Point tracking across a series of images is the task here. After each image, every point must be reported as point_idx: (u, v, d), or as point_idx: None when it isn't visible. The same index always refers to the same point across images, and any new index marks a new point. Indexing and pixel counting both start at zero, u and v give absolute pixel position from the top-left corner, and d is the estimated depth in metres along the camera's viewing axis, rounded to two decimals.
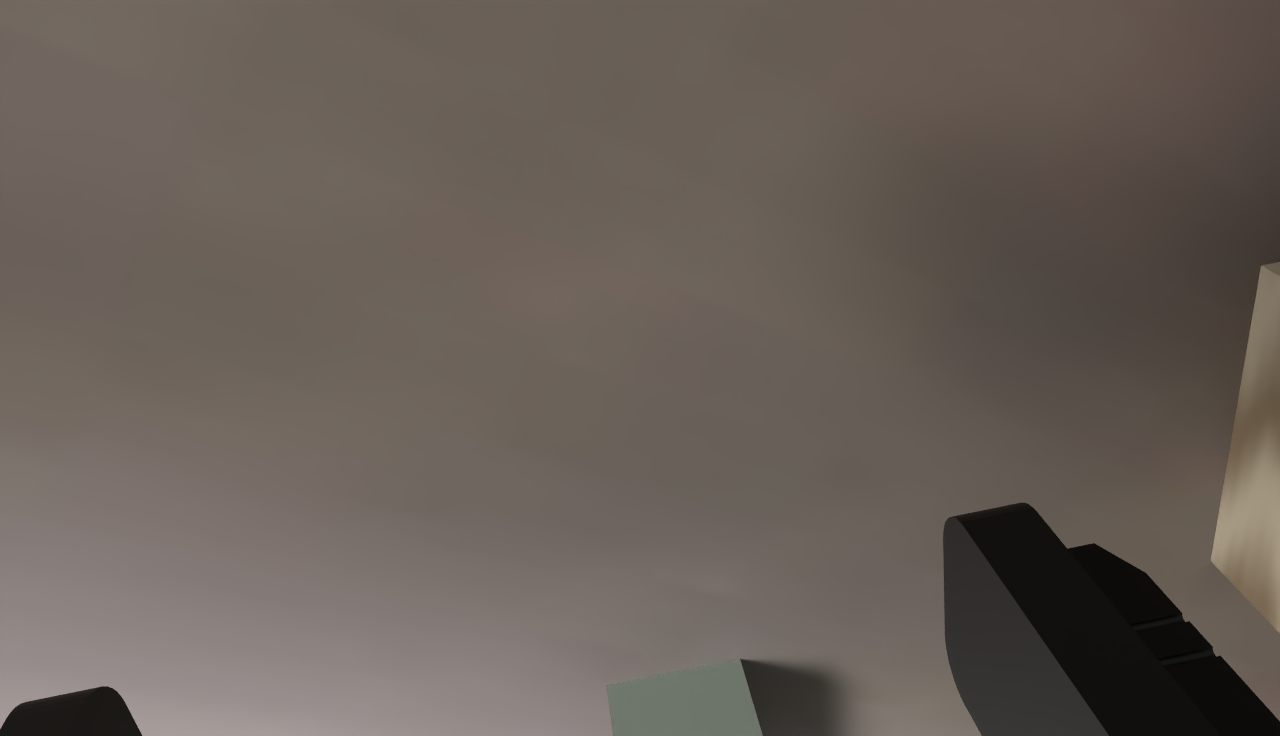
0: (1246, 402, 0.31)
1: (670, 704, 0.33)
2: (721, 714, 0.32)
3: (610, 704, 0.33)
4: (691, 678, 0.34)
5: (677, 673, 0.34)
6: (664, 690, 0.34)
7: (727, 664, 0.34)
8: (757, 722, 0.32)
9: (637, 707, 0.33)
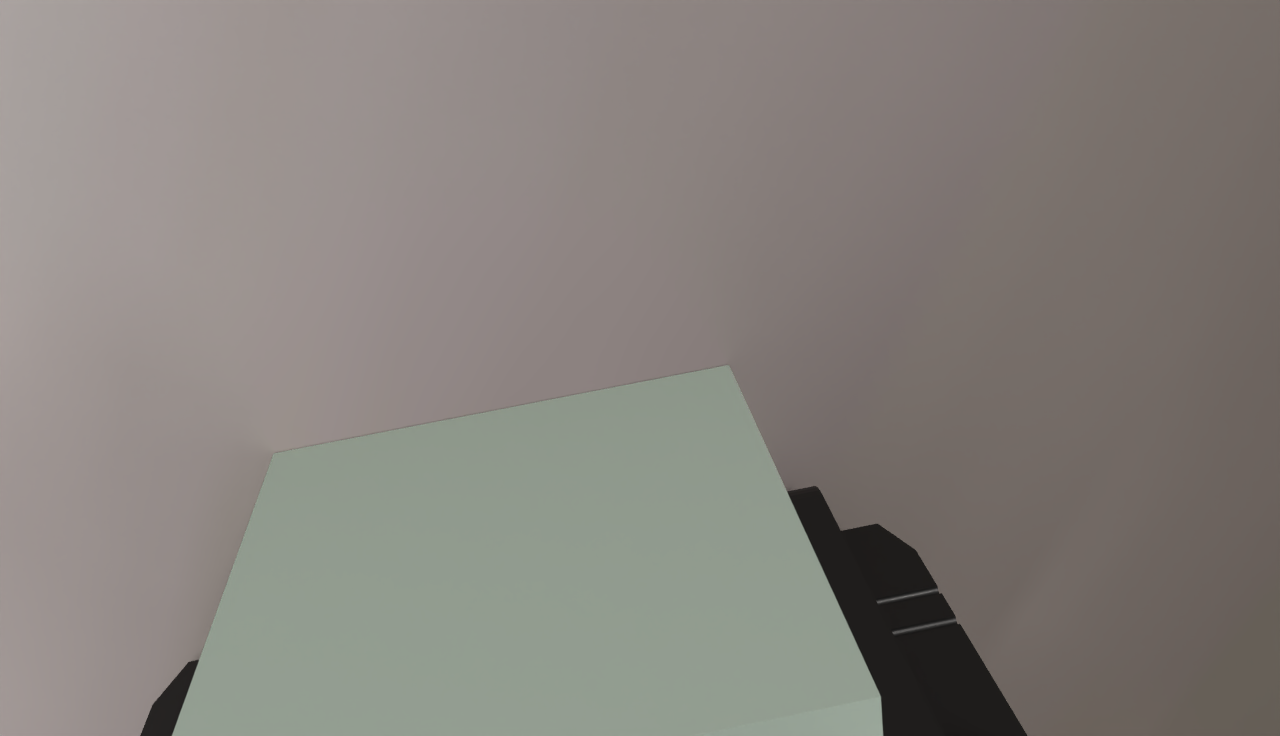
0: None
1: None
2: None
3: (750, 415, 0.09)
4: None
5: None
6: None
7: None
8: None
9: None
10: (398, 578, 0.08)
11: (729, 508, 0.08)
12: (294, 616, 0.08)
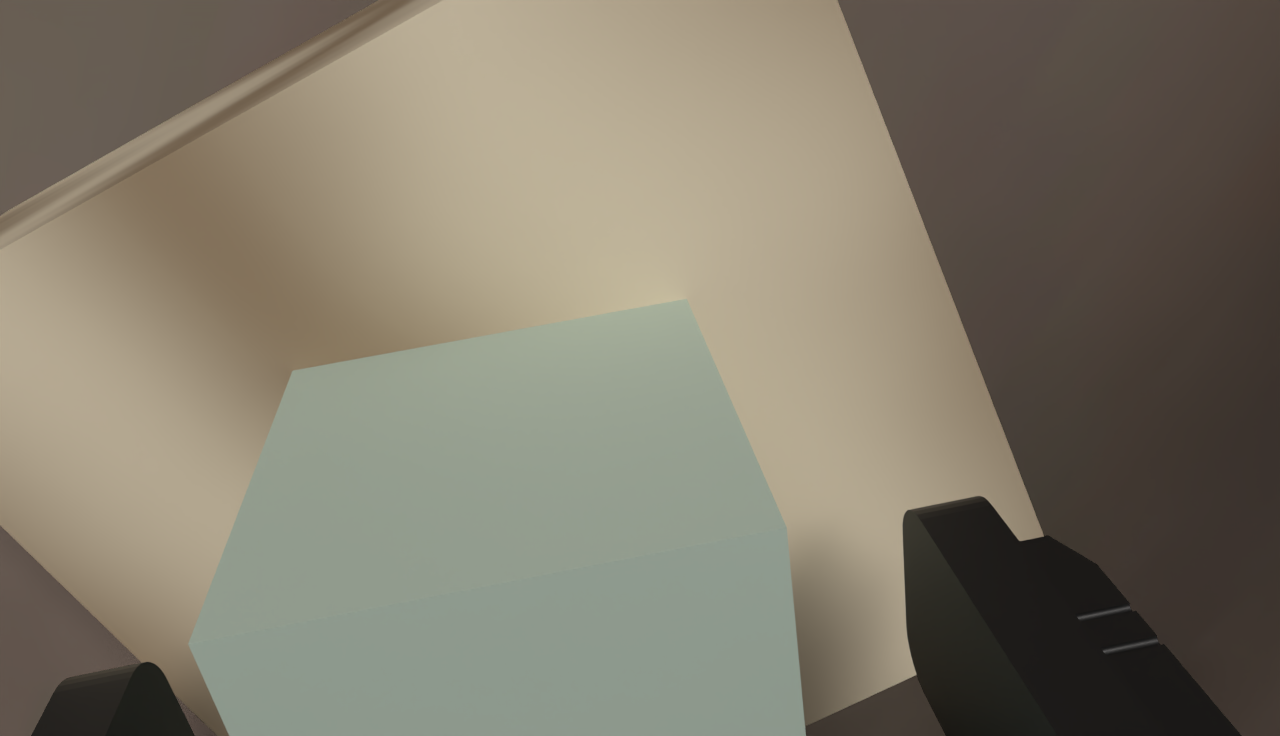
0: None
1: None
2: None
3: (702, 336, 0.11)
4: None
5: None
6: None
7: None
8: None
9: None
10: (400, 458, 0.10)
11: (678, 403, 0.10)
12: (314, 485, 0.09)
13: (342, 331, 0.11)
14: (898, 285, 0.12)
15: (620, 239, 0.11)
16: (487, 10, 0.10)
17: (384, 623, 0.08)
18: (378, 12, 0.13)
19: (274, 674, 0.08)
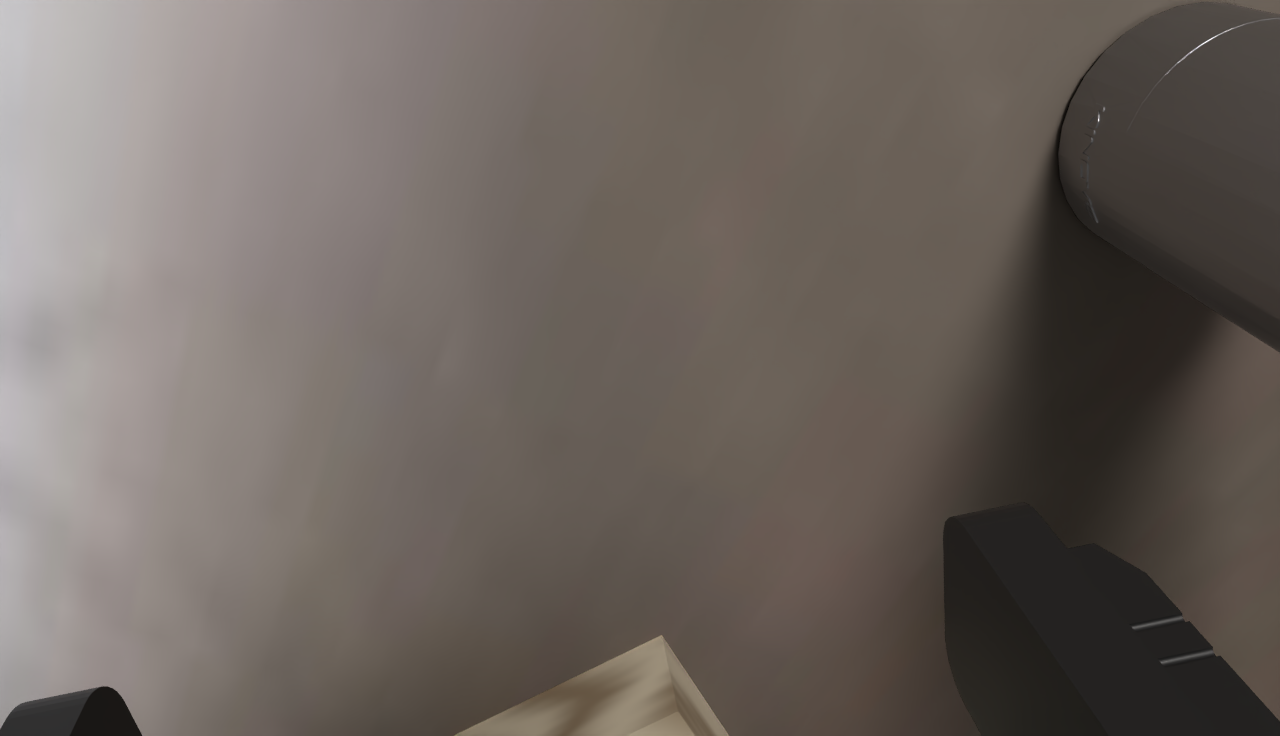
0: (575, 681, 0.47)
1: None
2: None
3: None
4: None
5: None
6: None
7: None
8: None
9: None
10: None
11: None
12: None
13: None
14: None
15: None
16: None
17: None
18: (576, 708, 0.45)
19: None
